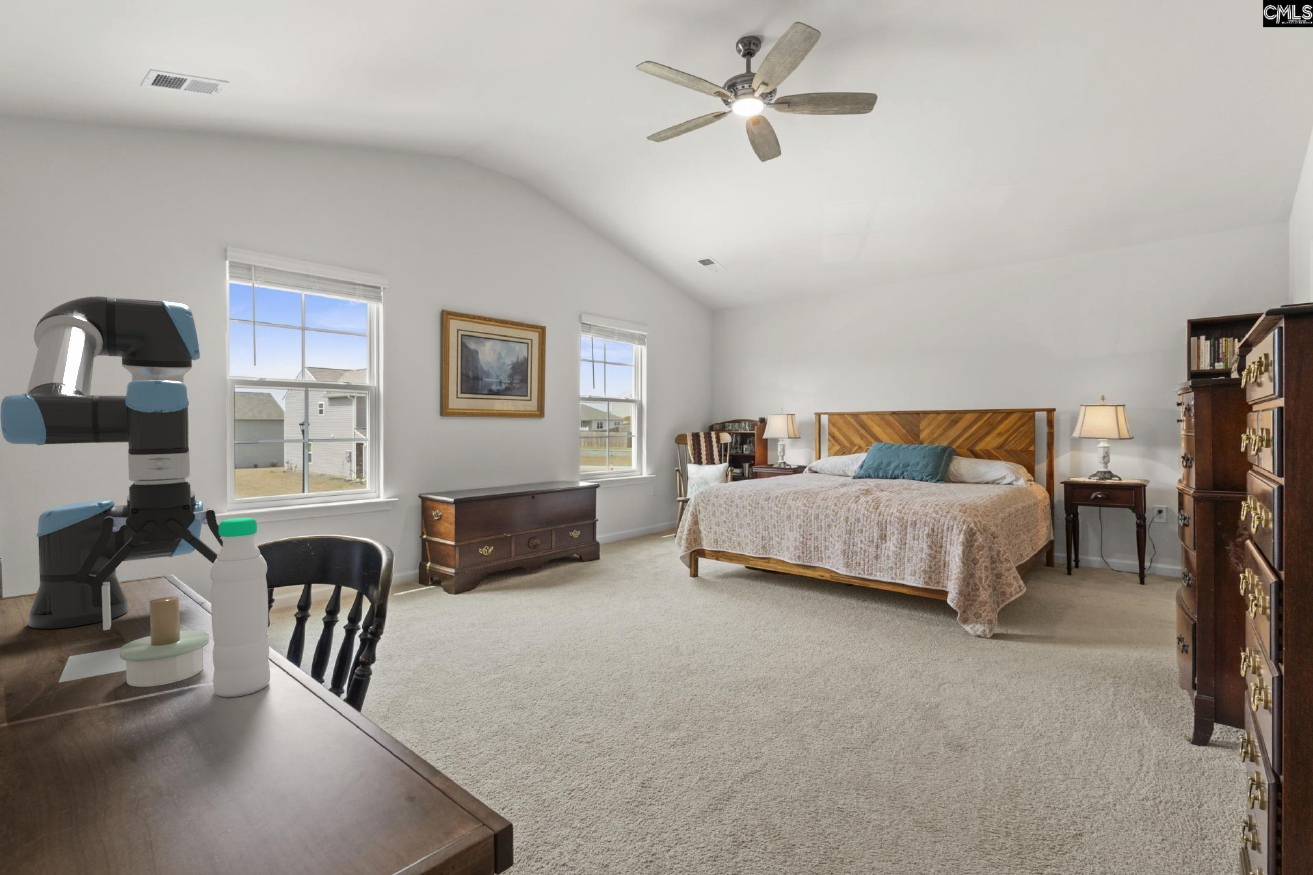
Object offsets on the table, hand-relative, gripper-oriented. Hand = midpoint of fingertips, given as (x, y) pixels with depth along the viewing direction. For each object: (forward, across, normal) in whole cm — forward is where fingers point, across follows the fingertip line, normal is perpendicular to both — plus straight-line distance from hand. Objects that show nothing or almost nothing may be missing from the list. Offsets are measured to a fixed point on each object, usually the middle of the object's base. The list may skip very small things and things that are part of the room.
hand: (164, 619), depth 102 cm
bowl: (+9, 0, 0) cm, 9 cm away
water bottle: (+9, +9, -13) cm, 18 cm away
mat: (+9, -6, +13) cm, 17 cm away
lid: (+4, 0, 0) cm, 5 cm away
